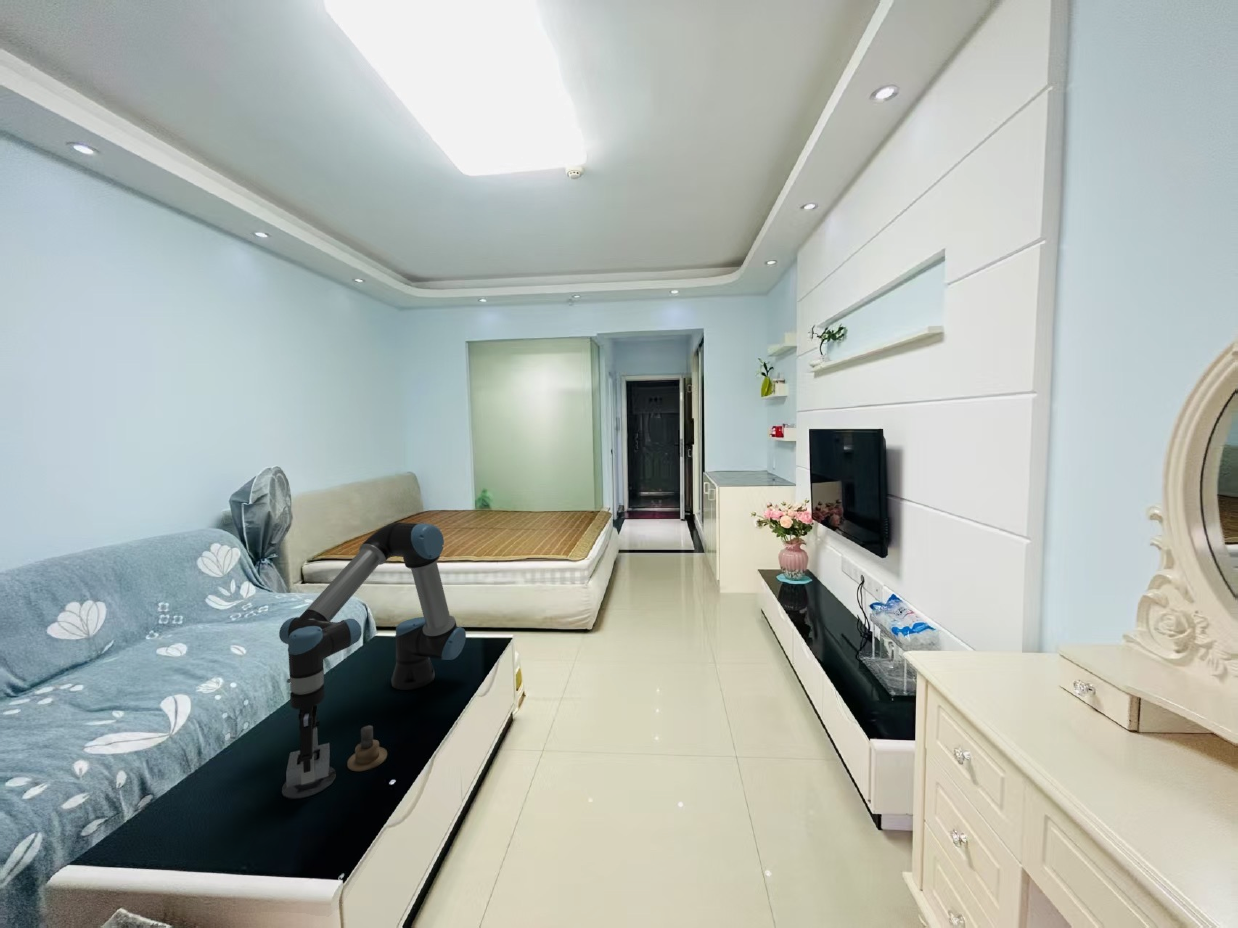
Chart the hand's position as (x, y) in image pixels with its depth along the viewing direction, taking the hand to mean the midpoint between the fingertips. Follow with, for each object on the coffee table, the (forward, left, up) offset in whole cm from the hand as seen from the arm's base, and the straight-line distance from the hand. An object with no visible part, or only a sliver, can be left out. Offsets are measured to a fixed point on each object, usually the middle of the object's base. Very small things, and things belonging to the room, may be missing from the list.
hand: (310, 766), depth 128 cm
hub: (0, 0, -4) cm, 4 cm away
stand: (-13, +4, -4) cm, 15 cm away
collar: (0, 0, -1) cm, 1 cm away
